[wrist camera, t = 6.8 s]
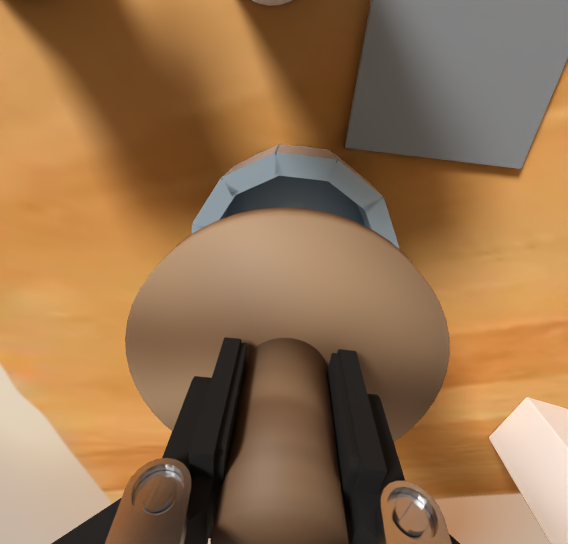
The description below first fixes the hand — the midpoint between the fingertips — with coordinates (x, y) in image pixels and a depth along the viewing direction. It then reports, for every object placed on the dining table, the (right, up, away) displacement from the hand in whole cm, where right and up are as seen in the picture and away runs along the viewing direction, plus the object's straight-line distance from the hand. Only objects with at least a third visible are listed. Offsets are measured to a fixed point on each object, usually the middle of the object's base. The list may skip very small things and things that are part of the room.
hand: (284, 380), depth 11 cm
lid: (0, +1, +1) cm, 1 cm away
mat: (+10, +15, +8) cm, 19 cm away
